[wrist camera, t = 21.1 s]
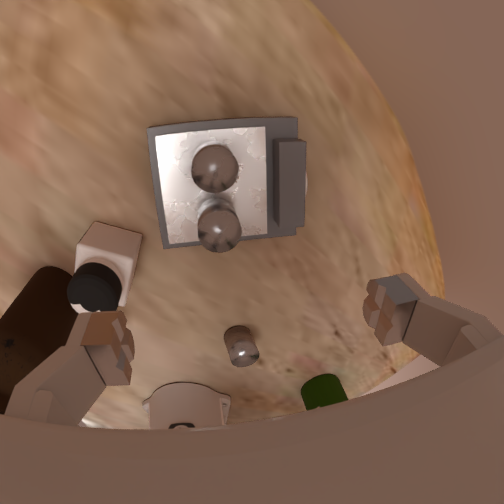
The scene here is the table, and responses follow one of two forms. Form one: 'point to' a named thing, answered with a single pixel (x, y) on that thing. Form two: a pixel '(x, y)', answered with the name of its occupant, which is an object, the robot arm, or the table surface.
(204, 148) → the cylinder
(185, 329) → the table surface
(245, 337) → the cylinder
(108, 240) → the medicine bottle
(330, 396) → the wine bottle
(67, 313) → the olive oil
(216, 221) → the cylinder
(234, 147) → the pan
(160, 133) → the scale
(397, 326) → the robot arm
